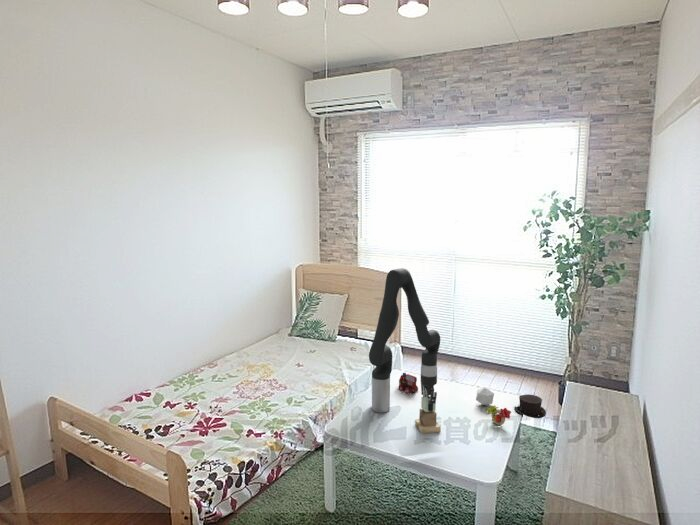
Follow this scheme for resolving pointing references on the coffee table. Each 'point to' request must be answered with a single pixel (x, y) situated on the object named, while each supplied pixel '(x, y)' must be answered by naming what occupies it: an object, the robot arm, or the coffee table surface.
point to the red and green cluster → (501, 415)
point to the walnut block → (427, 418)
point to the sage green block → (426, 404)
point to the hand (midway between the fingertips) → (428, 407)
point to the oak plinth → (427, 429)
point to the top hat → (530, 406)
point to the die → (484, 396)
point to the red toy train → (408, 383)
